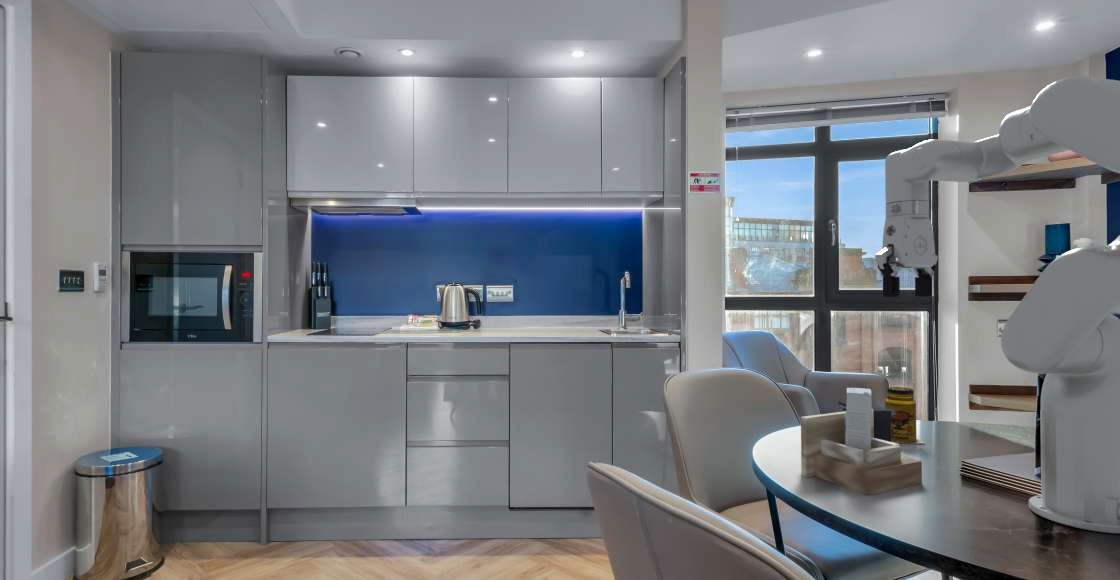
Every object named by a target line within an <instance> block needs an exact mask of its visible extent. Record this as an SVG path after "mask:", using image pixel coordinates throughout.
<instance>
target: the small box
mask: <svg viewBox="0 0 1120 580" xmlns="http://www.w3.org/2000/svg"><path fill="white" fill-rule="evenodd" d="M846 402H847V400H838V412H843V411H846ZM872 409H873V415H874V438H877V439H881V440H885V441H888V442H891V412H892V411H891V410H888V409H885V407H882V406H879V405H876V404H873V403H872Z"/></svg>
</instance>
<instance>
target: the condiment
mask: <svg viewBox="0 0 1120 580" xmlns="http://www.w3.org/2000/svg"><path fill="white" fill-rule="evenodd" d="M886 392H887V394H886V396H887V398H886V400H885V407H884V408H885V409H888V410H891V411H892V412H891V442H892V443H896V444H903V445H905V444H907V445H914V444H915V445H917V444H925V442H924V441H921V440H919V439H918V438H917V403H916V401H915V400H914V398H915V395H914V394H915V393H914V392H915V391H914V389H912V388H909V387H901V386H890V387H888V388H887V389H886Z"/></svg>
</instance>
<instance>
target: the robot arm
mask: <svg viewBox="0 0 1120 580" xmlns="http://www.w3.org/2000/svg"><path fill="white" fill-rule="evenodd" d="M1068 151H1071V152H1073V153H1074V154H1076V155H1078V156H1081V157H1082V158H1084V159H1086V160H1088V161H1090V162H1092V163H1095V164H1097V165H1098V166H1101V168H1105V170H1106V169H1107V170H1109V171H1111V172H1114V173H1117V174H1120V80H1116V79H1111V78H1110V79H1108V78H1101V77H1095V76H1094V77H1093V76H1086V75H1076V76H1074V75H1073V76H1068V77H1064V78H1061V79H1058V80H1056V81H1054V82H1052V83H1051V84H1048V85H1047V86H1046V87H1045V88H1043V89H1042V90H1041V91H1040V92H1039V93H1038V94H1037V95H1036V97H1034V99H1033V101H1032V103H1031V105H1029V106H1026V107H1025V108H1022V109H1017V110H1016V111H1013V112H1011V113H1009V114H1007V115H1006V116H1005V117H1004V119H1002V121H1001V123H1000V126H999V128H998V134H996V135H993V136H990V137H986V138H983V139H979V140H976V141H972V142H971V141H960V140H958V141H957V140H948V139H947V140H946V139H945V140H944V139H928V140H927V139H926V140H923V141H922V142H919V143H916V144H915V145H913V146H912V147H909V148H907V149H901V150H898V151H894V152H891V153H889V154H888V155H887V156H886V158H885V162H884V179H885V180H884V181H885V185H884V186H885V220H884V227H883V234H882V247H881V248H882V249H881V250H880V251H879V252H877V253H876V254H875V255H874V258H875V261H876V264H877V268H878V270H879V272H880V277H881V278H882V296H883V297H884V298H899V297H900V295H901V294H900V293H901V292H900V291H901V290H900V289H901V288H900V285H901V284H900V282H901V281H900V276H898V274H899V272H900V270H901V269H913V271H914V272H915V274H916V276H915V277H914V286H915V287H914V295H915V297H932V296H933V277H934V275H935V273H934V272H935V270H936V269H937V266H936V265H937V261H938V259H939V257H938V255H937V254H936V248H935V238H934V236H935V235H934V230H933V225H932V221H931V218H930V209H929V208H930V203H929V202H930V201H929V200H930V199H929V198H930V193H929V182H930V181H935V182H936V181H938V182H939V181H941V182H942V181H943V182H955V183H965V182H966V183H968V182H973V181H979V180H984V179H987V178H990V177H991V178H992V177H993V176H994V177H995V176H996V177H997V176H999V175H1002V174H1005V173H1009V172H1012V171H1014V170H1016V169H1018V168H1019V167H1021V166H1023V165H1025V164H1026V163H1028V162H1031V161H1032V160H1037V159H1041V158H1045V157H1048V156H1052V155H1057V154H1060V153H1063V152H1068ZM1115 315H1120V234H1119V235H1118V236H1117V237H1116V239H1114V240H1113V241H1112V242H1111V243H1109V244H1107V245H1086V246H1081V247H1076V248H1073V249H1071V250H1068V251H1065V252H1064V253H1062V254H1061V255H1059V256H1057V257H1056V258H1055V259H1053V260H1052V261H1051V262H1050V263H1049V264H1048V265H1047V266H1046V267H1045V268H1044V270H1043V271H1042V272H1041V273H1040V275H1039V276H1038V277H1037V279H1036V280H1035V281H1034V283H1033V284H1032V286H1031V287H1029V290H1027V293H1026V294H1025V295H1024V296H1023V298H1022V299H1021V300H1020V302H1019V303H1018V305H1017V306H1016V307H1015V309H1014V310H1013V312H1012V313H1011V314H1010V316H1009V317H1008V318H1007V320H1006V321H1005V324H1004V327H1003V328H1002V332H1001V335H1000V346H1001V350H1002V352H1003V354H1004V356H1005V358H1006V359H1007V360H1008V362H1009V363H1010V364H1011V365H1013V366H1014V367H1016V368H1017V369H1019V370H1022V371H1024V372H1027V373H1032V374H1040V375H1045V377H1044V379H1043V383H1042V387H1041V392H1040V414H1039V415H1040V482H1041V483H1040V485H1041V486H1040V489H1041V491H1040V492H1041V493H1040V495H1035V496H1031V497H1030V498H1029V499H1028V508H1029V509H1030V511H1032V512H1033V513H1035V514H1036V515H1038V516H1040V517H1042V518H1043V519H1044V518H1045V519H1047V520H1049V521H1052V522H1054V523H1057V524H1061V525H1064V526H1069V527H1073V528H1078V529H1082V530H1087V531H1092V532H1099V533H1107V534H1120V318H1119V317H1117V316H1115Z"/></svg>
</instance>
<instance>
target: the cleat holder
mask: <svg viewBox="0 0 1120 580" xmlns="http://www.w3.org/2000/svg"><path fill="white" fill-rule="evenodd" d="M845 425H846V411H843V412H839V411H836V412H830V413H821V414H813V415H806V416H805V415H804V416H801V417H800V453H801V454H800V455H801V456H800V457H801V459H800V461H801V462H800V465H801V467H800V468H801V469H800V471H801V472H800V474H801V477H803V478H806V479H807V478H812V477H816V478H818V479H822V480H824V481H827V482H830V483H833V484H836V485H838V486H840V487H844V488H846V489H849V490H852V491H853V492H854V491H855V492H858V493H860V494H863V495H865V496H871V495H875V494H879V493H884V492H889V491H893V490H899V489H902V488H908V487H912V486H917V485H922V484H923V461H922V460H919V459H915V458H911V457H908V456H905V455H902V454H901V453H902V447H901V446H900V443H892V442H888V441H885V440H881V439H877V438H874V415H873V409H872V417H871V449H868V450H861V449H858V448H854V447H851V446H847V445H845Z"/></svg>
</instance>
